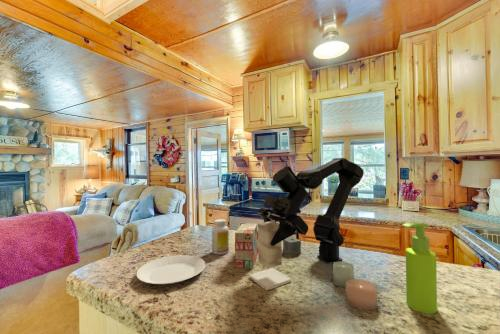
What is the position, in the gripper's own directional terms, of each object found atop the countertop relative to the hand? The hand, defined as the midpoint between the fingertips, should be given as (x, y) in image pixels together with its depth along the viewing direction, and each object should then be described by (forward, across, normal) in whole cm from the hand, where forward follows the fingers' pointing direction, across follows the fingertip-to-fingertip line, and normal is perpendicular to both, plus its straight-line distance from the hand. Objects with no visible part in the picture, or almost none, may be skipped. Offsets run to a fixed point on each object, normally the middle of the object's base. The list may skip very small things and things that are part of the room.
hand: (266, 242), depth 68 cm
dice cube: (-7, -13, +24) cm, 28 cm away
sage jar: (-5, +13, +21) cm, 25 cm away
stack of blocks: (+4, -19, +12) cm, 23 cm away
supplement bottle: (+9, -29, +7) cm, 31 cm away
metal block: (+4, 0, +6) cm, 7 cm away
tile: (+7, 0, +9) cm, 11 cm away
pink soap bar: (-1, +22, +18) cm, 28 cm away
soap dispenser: (-8, +30, +25) cm, 40 cm away
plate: (+24, -20, -8) cm, 33 cm away
